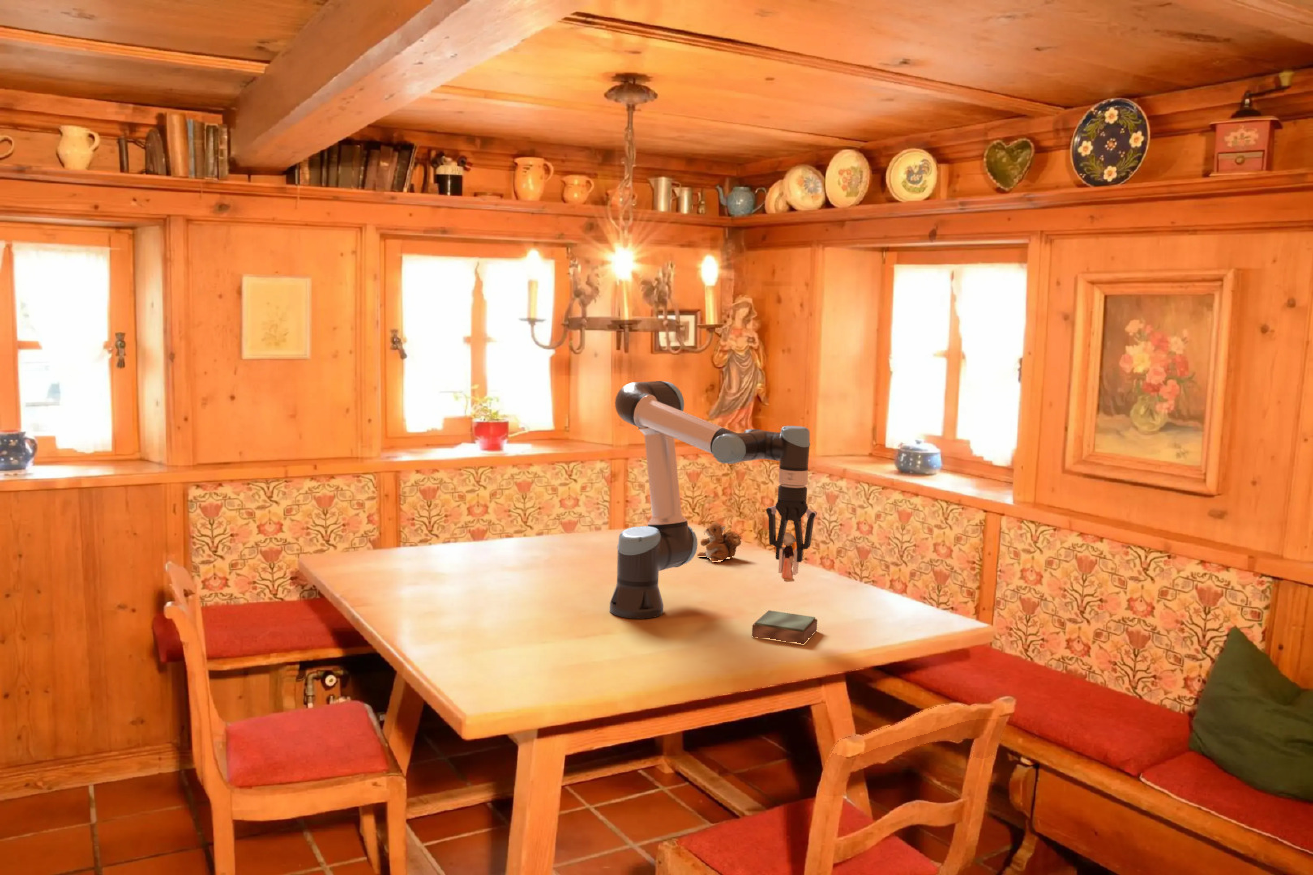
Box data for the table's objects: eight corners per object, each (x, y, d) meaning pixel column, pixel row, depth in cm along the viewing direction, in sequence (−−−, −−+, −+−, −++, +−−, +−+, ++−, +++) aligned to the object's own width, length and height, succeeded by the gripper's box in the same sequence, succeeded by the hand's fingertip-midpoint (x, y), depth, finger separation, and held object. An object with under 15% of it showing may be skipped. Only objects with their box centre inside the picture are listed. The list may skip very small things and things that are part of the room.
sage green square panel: (751, 637, 275) (752, 622, 275) (766, 623, 288) (767, 609, 288) (803, 645, 270) (804, 630, 269) (816, 631, 283) (817, 616, 282)
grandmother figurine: (776, 577, 280) (776, 530, 279) (790, 576, 281) (790, 530, 280) (786, 584, 273) (786, 536, 272) (800, 583, 274) (800, 535, 272)
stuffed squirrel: (694, 557, 364) (696, 520, 363) (730, 555, 370) (732, 518, 369) (707, 563, 355) (709, 525, 354) (744, 561, 361) (746, 524, 360)
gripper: (758, 484, 274) (754, 571, 277) (820, 490, 268) (815, 579, 271) (766, 480, 281) (762, 566, 283) (826, 486, 275) (821, 573, 277)
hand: (788, 572), depth 277 cm, fingers closed on grandmother figurine, 3 cm apart
